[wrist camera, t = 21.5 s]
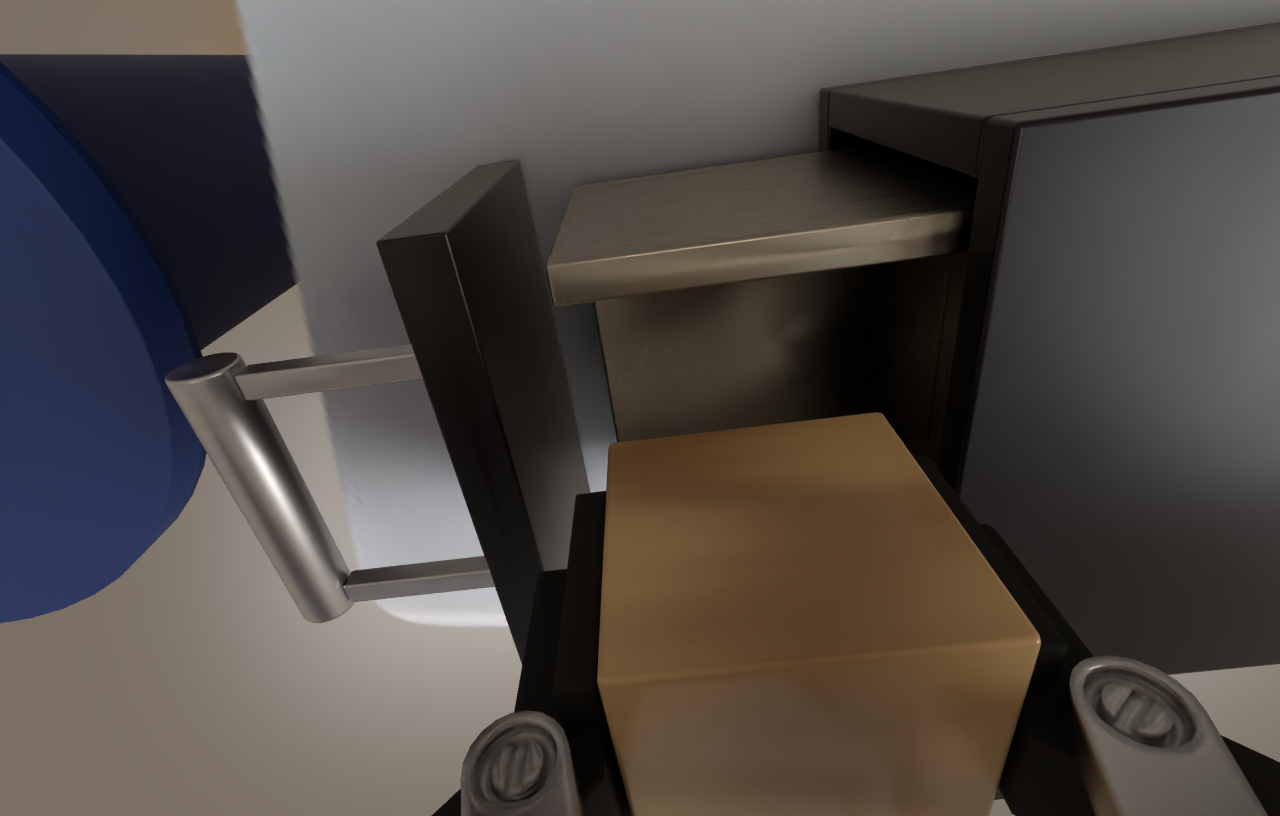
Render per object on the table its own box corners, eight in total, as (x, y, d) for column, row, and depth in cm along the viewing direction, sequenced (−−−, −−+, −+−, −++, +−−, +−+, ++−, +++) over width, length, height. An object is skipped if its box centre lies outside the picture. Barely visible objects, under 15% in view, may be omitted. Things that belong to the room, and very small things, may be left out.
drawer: (408, 514, 23) (315, 711, 16) (276, 194, 17) (40, 287, 10) (931, 453, 22) (1071, 634, 15) (980, 93, 16) (1243, 122, 9)
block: (641, 626, 13) (648, 888, 9) (608, 441, 10) (594, 683, 6) (865, 602, 12) (978, 861, 8) (882, 409, 10) (1047, 640, 6)
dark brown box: (812, 464, 23) (921, 701, 15) (819, 88, 17) (1018, 122, 8) (1214, 418, 22) (1571, 637, 14) (1381, 7, 16) (2221, -46, 8)
